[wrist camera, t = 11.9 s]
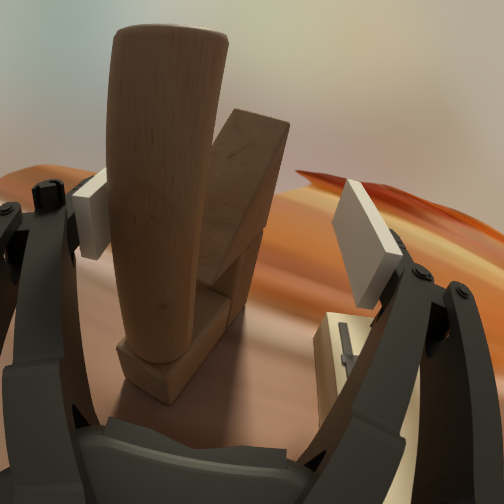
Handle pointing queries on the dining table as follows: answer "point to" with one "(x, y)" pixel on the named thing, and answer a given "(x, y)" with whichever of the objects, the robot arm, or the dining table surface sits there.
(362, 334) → the maple board
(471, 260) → the dining table surface
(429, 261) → the dining table surface
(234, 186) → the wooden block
